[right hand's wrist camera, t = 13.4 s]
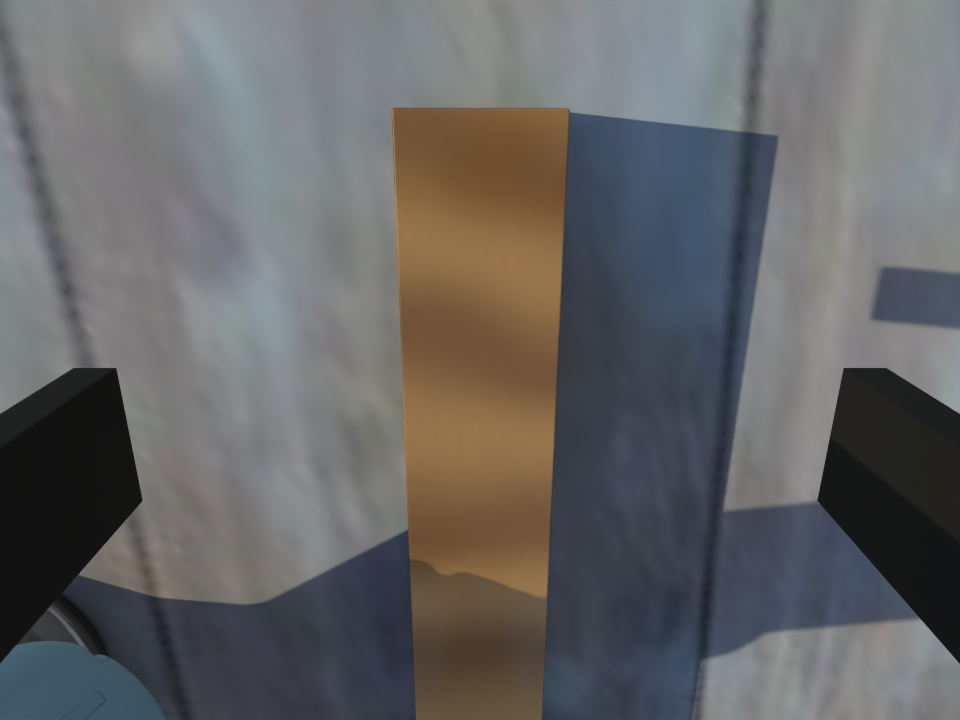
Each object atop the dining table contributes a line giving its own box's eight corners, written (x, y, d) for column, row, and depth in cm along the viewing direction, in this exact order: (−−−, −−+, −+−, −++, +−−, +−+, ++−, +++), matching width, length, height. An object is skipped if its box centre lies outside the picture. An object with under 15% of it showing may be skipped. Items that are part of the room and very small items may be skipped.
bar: (414, 109, 30) (391, 107, 22) (546, 109, 30) (570, 108, 22) (439, 972, 51) (432, 1126, 44) (516, 973, 51) (523, 1126, 44)
